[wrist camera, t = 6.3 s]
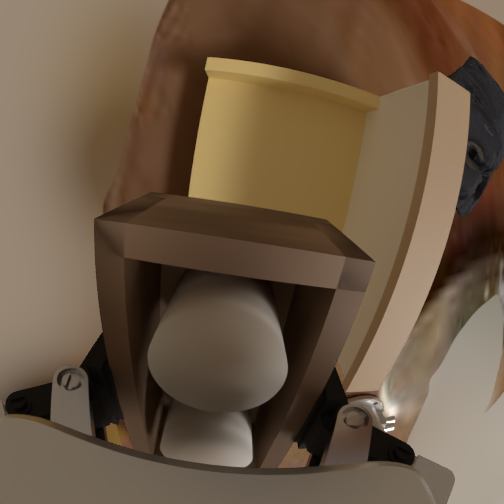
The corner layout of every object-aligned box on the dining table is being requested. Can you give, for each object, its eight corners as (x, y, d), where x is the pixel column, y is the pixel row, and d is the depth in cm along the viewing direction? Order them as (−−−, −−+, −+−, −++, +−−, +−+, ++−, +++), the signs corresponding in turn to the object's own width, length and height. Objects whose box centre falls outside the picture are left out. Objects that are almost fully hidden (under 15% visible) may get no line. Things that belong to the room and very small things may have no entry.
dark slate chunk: (514, 135, 23) (534, 137, 19) (454, 223, 28) (476, 233, 24) (469, 51, 19) (489, 45, 15) (395, 127, 24) (419, 124, 20)
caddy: (326, 219, 10) (382, 268, 5) (264, 420, 14) (269, 486, 9) (151, 192, 9) (85, 223, 5) (154, 405, 13) (137, 469, 9)
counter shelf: (379, 111, 23) (470, 92, 10) (333, 304, 31) (377, 390, 18) (215, 73, 22) (188, 2, 9) (184, 284, 29) (148, 372, 16)
